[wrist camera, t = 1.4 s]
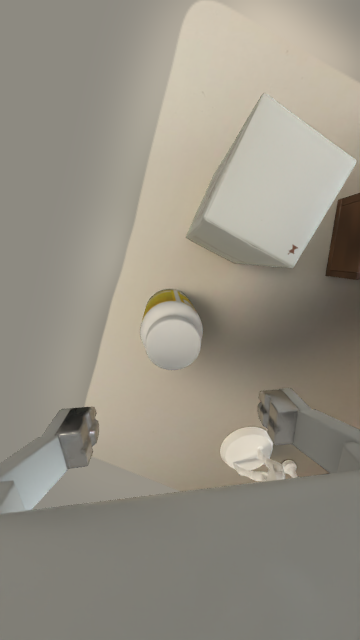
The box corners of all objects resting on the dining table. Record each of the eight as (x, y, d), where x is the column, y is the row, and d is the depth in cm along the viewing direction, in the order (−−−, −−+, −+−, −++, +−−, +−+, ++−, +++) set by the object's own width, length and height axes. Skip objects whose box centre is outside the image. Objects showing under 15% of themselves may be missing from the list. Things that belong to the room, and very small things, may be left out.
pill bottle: (142, 328, 28) (129, 372, 17) (150, 283, 26) (142, 302, 16) (186, 336, 29) (199, 383, 18) (197, 294, 27) (219, 318, 17)
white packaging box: (265, 207, 24) (364, 160, 12) (234, 264, 26) (294, 272, 14) (212, 173, 23) (266, 83, 11) (183, 236, 25) (201, 219, 13)
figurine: (279, 456, 37) (378, 627, 20) (231, 476, 38) (288, 658, 21) (263, 418, 34) (363, 580, 17) (211, 440, 35) (258, 618, 18)
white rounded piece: (286, 457, 38) (297, 477, 34) (296, 461, 38) (309, 481, 35) (278, 467, 38) (289, 487, 35) (288, 471, 39) (300, 491, 35)
